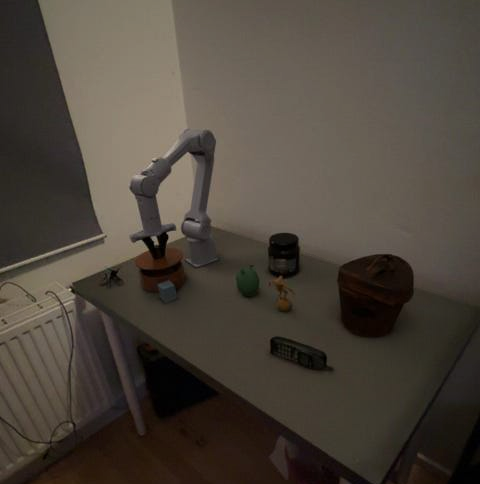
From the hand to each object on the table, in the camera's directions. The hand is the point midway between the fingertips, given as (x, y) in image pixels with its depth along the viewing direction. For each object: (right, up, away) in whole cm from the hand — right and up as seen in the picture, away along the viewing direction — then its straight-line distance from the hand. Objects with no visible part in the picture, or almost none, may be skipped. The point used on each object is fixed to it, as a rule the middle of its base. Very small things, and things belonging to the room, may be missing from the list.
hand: (158, 256), depth 113 cm
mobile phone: (+40, -28, -31) cm, 58 cm away
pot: (+1, -8, +5) cm, 9 cm away
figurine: (+38, -17, -14) cm, 44 cm away
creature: (-17, -8, +7) cm, 20 cm away
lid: (0, -1, 0) cm, 1 cm away
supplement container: (+41, -4, +6) cm, 42 cm away
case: (+60, -20, -20) cm, 67 cm away
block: (+4, -14, -4) cm, 15 cm away
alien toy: (+29, -12, -5) cm, 32 cm away
